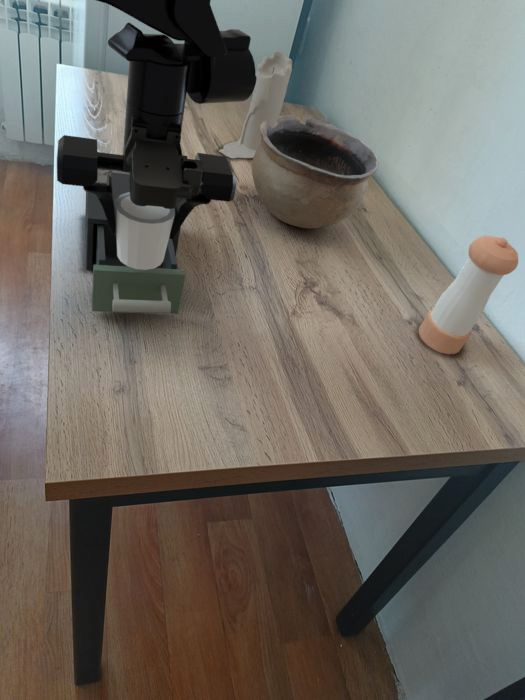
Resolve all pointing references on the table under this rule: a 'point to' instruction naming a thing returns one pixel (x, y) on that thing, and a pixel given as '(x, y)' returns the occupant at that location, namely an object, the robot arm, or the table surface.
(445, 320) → the salt shaker
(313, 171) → the ceramic bowl
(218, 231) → the table surface
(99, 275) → the drawer
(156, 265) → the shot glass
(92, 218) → the cabinet
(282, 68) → the candle
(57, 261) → the table surface
